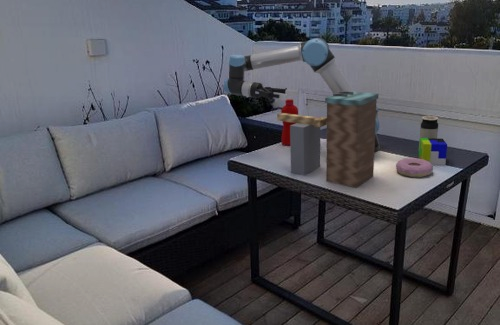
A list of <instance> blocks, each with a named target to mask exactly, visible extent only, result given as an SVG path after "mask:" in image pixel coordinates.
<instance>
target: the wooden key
mask: <svg viewBox="0 0 500 325" xmlns="http://www.w3.org/2000/svg"><path fill="white" fill-rule="evenodd" d="M276 119H277V122H279V121H280V122H283V121H285V122H293V123H300V124H308V125H314V127H320V128H322V127H325V126H327V116H320V117H318V116H312V115H311V116H310V115H302V114H298V115H295V114H286V113H281V112H280V113H277V117H276Z"/></svg>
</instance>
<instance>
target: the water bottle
mask: <svg viewBox="0 0 500 325" xmlns="http://www.w3.org/2000/svg"><path fill="white" fill-rule="evenodd" d="M284 102H285V104H284V106H283V107H282V108H281V110H280V113H286V114H295V115H299V109H298V106H296V105H295V104H294V99H289V98H287V100H284ZM293 124H296V123H293V122H285V121H282V127H283V128H282V132H281V144H282V146H290V125H293ZM290 147H291V146H290Z"/></svg>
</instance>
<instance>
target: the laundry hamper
mask: <svg viewBox="0 0 500 325" xmlns="http://www.w3.org/2000/svg"><path fill="white" fill-rule="evenodd" d="M379 95H380V94H379V93H373V92H359V91H355V92H348V91H339V93H333V92H332V95H329V96H327V97H325V98H324V103H325V104H326V117H327V125H326V166H325V167H326V177H325V178H326V182H328V183H332V184H333V183H334V184H338V185H342V186H347V187H352V188H355V189H356V188H358V187H360V186H361V185H363V184H364V183H366V182H367V181H369V180H370V179H372V178H374V169H375V168H374V167H375V152H374V149H375V126H376V106H377V100H378V99H379Z"/></svg>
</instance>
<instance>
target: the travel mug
mask: <svg viewBox="0 0 500 325" xmlns="http://www.w3.org/2000/svg"><path fill="white" fill-rule="evenodd" d="M421 119H422V121H421V123H420V128H419V129H420V130H419V139H420V138H438V136H439V135H438V132H439V123H438V120H439V117H437V116H433V115H424V116H421ZM418 144H419V145H418V148H419V147H420V140H419V143H418Z"/></svg>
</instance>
